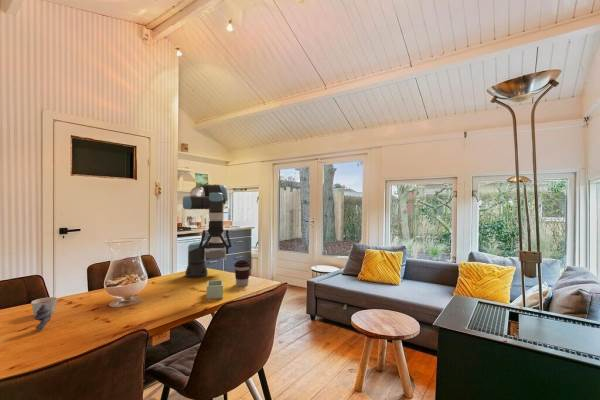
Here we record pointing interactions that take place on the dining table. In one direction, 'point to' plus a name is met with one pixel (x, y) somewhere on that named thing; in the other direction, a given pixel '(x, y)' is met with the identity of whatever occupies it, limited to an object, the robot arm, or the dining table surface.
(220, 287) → the box
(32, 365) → the dining table surface
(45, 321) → the seashell
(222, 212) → the robot arm
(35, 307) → the grey bowl
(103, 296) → the dining table surface
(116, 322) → the dining table surface
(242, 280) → the coffee cup
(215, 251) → the lid
